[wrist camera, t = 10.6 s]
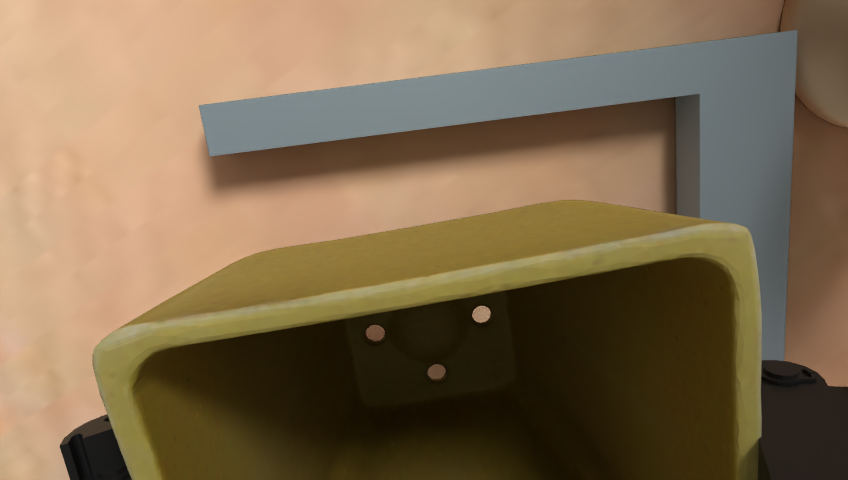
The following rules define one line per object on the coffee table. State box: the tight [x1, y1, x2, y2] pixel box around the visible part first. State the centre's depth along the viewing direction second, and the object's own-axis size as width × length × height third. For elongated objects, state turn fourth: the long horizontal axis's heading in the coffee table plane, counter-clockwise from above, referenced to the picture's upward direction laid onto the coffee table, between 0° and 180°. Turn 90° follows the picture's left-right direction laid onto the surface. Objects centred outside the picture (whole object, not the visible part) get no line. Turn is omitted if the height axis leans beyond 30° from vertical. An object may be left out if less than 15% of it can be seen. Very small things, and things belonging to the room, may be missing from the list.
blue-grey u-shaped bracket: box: [199, 30, 798, 361], centre depth 19 cm, size 18×14×2 cm
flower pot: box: [93, 200, 762, 480], centre depth 12 cm, size 9×9×9 cm
